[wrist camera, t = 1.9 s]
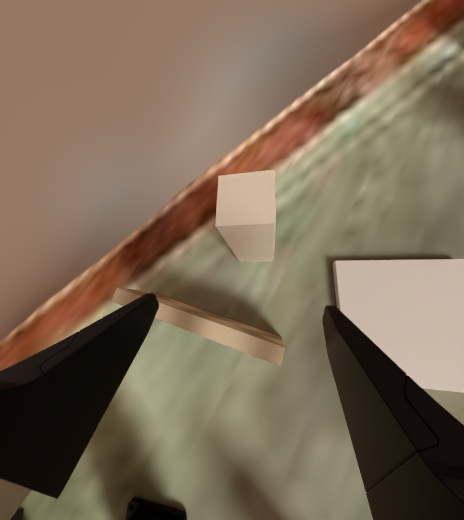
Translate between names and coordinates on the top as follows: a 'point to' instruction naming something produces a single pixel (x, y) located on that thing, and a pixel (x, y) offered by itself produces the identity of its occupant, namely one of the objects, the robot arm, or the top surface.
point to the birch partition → (212, 326)
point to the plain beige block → (247, 214)
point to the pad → (409, 314)
